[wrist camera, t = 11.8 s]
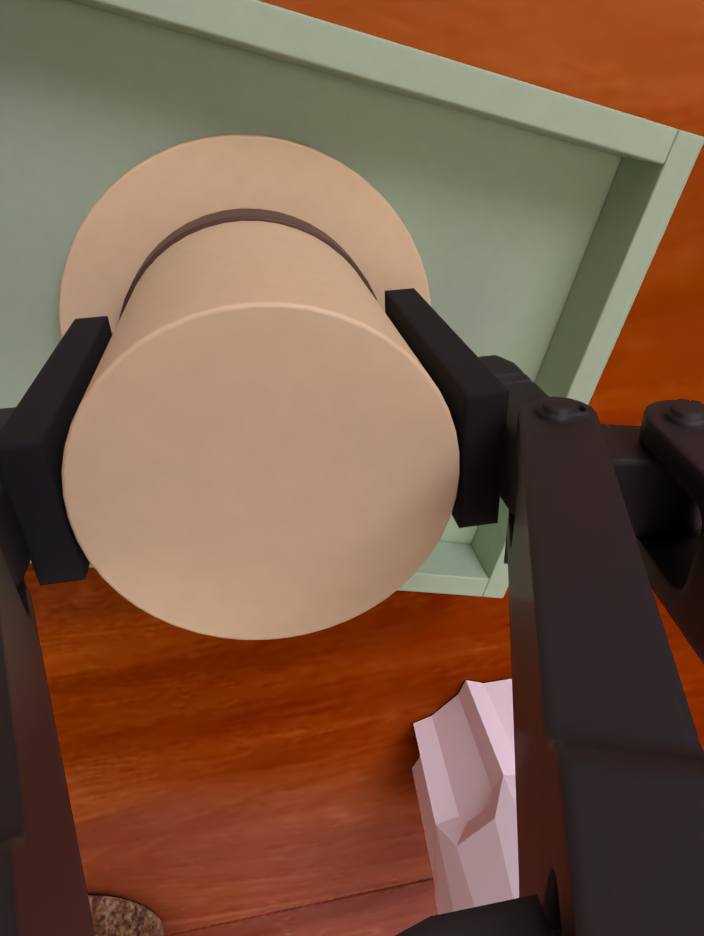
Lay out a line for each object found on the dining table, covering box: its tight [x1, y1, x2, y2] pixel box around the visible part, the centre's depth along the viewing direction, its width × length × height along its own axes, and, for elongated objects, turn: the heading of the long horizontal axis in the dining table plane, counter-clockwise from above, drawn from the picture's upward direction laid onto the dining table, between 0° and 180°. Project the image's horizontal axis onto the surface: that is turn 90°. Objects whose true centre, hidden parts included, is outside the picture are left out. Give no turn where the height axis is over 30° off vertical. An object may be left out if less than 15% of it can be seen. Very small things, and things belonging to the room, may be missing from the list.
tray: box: [0, 0, 704, 598], centre depth 18 cm, size 20×15×3 cm
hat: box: [59, 133, 460, 640], centre depth 14 cm, size 10×10×9 cm
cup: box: [412, 679, 519, 915], centre depth 26 cm, size 10×10×10 cm
